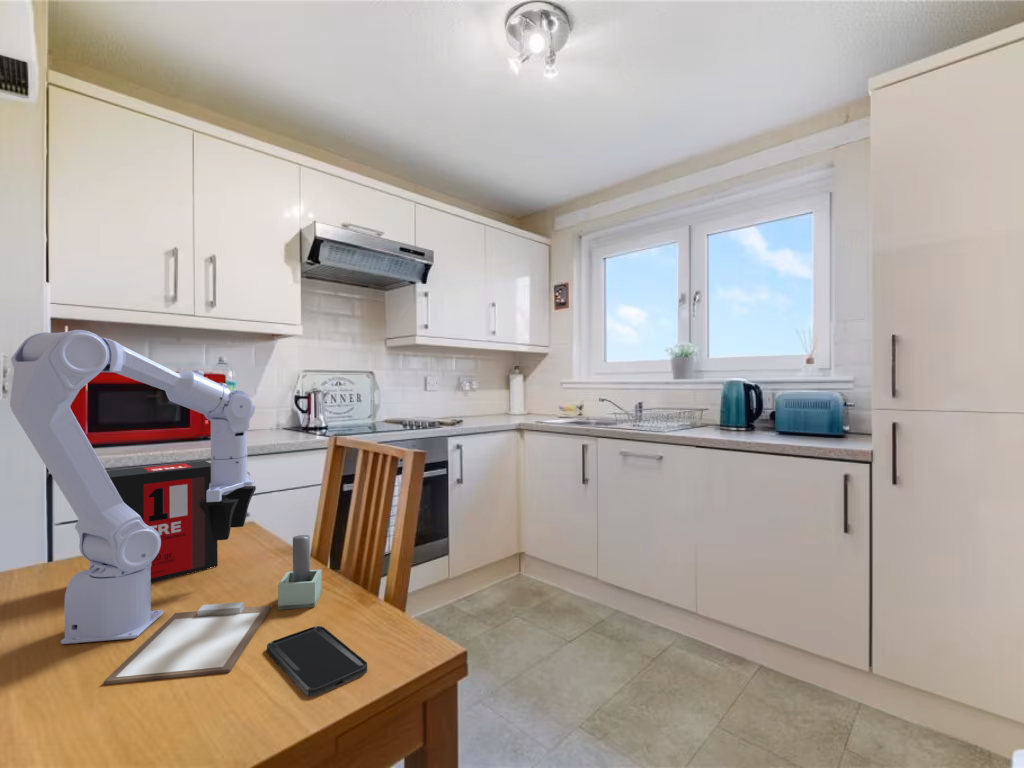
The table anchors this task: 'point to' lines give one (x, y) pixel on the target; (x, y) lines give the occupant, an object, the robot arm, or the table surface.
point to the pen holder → (299, 591)
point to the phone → (316, 660)
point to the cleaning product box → (172, 513)
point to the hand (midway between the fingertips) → (229, 532)
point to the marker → (301, 558)
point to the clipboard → (193, 644)
